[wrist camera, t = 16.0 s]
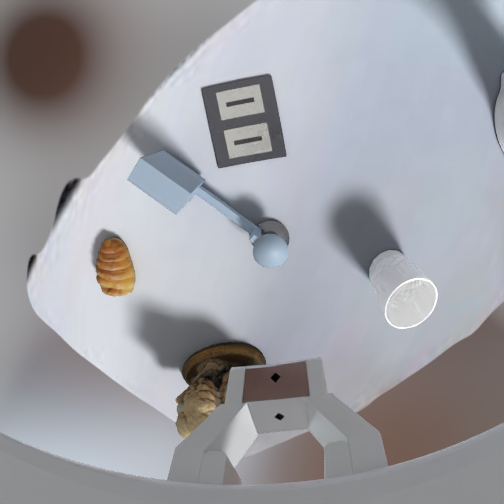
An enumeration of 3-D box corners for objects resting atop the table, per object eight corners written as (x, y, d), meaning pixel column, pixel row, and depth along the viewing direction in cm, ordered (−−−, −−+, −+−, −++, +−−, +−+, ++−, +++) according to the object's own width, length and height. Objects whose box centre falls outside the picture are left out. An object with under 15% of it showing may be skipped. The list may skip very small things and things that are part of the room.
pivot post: (278, 213, 42) (279, 222, 38) (295, 245, 43) (297, 256, 40) (245, 230, 43) (243, 240, 39) (262, 260, 45) (262, 272, 41)
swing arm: (293, 238, 42) (297, 264, 35) (273, 260, 43) (273, 290, 36) (166, 145, 38) (143, 152, 30) (149, 172, 39) (124, 184, 32)
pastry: (98, 233, 45) (86, 243, 41) (134, 237, 45) (124, 247, 41) (104, 284, 48) (94, 295, 45) (138, 289, 48) (130, 302, 45)
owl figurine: (204, 398, 59) (189, 465, 43) (167, 363, 55) (140, 432, 40) (279, 370, 54) (278, 447, 38) (243, 329, 50) (231, 409, 35)
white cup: (360, 290, 46) (377, 329, 37) (370, 243, 43) (394, 276, 34) (403, 291, 46) (426, 328, 37) (415, 247, 42) (445, 278, 33)
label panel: (270, 75, 34) (271, 74, 34) (286, 156, 38) (286, 156, 38) (202, 89, 35) (201, 89, 35) (219, 168, 40) (218, 168, 39)
